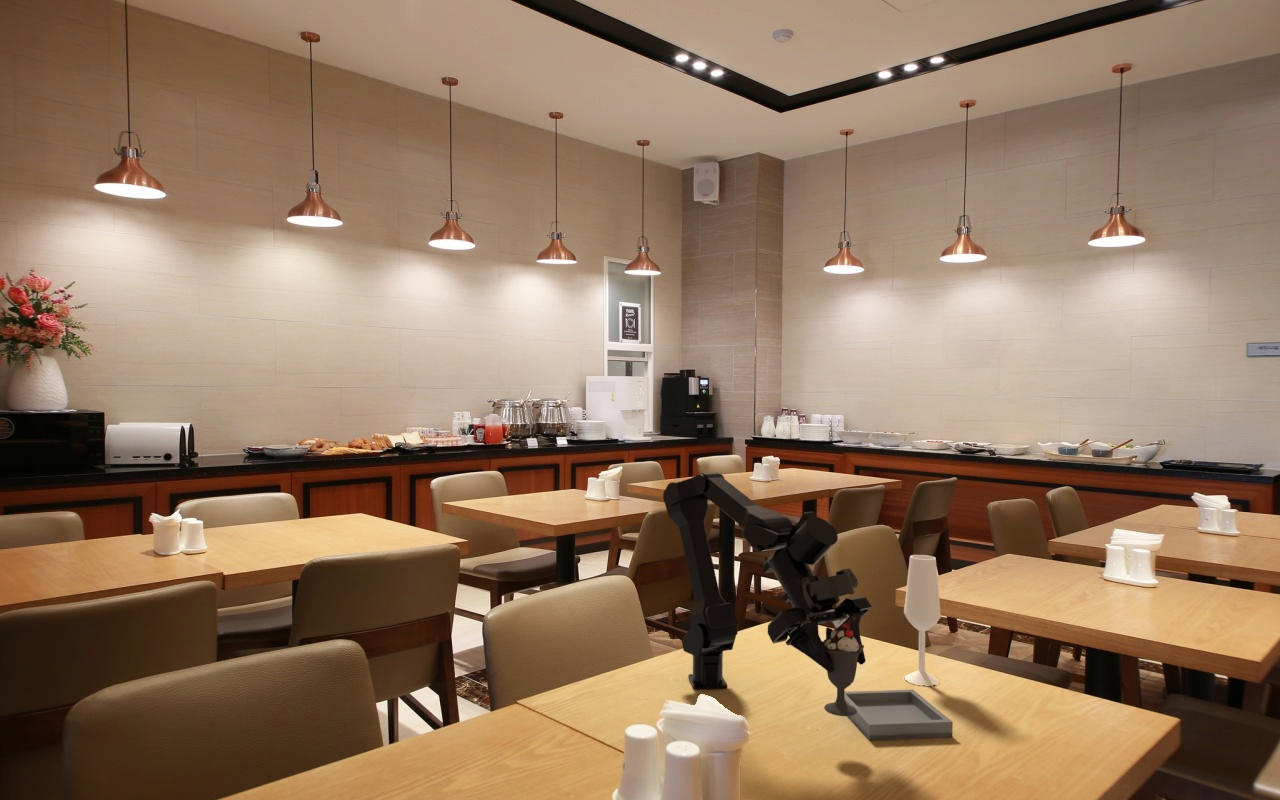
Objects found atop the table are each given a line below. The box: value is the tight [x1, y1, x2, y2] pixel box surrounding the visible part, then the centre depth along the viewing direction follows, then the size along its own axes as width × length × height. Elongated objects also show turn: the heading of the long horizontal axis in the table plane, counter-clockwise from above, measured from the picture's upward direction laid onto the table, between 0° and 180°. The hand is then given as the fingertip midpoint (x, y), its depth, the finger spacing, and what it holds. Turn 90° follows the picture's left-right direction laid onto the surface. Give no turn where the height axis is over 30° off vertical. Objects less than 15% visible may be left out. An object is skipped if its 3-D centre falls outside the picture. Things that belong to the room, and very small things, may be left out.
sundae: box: [821, 616, 865, 717], centre depth 121 cm, size 7×7×15 cm
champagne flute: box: [903, 554, 942, 686], centre depth 151 cm, size 7×7×24 cm
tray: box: [844, 689, 954, 741], centre depth 132 cm, size 14×14×2 cm
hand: (848, 667), depth 120 cm, fingers closed on sundae, 6 cm apart
